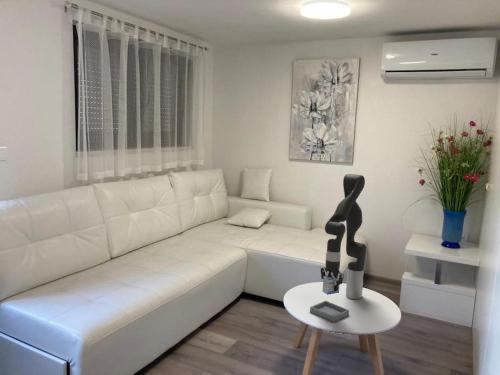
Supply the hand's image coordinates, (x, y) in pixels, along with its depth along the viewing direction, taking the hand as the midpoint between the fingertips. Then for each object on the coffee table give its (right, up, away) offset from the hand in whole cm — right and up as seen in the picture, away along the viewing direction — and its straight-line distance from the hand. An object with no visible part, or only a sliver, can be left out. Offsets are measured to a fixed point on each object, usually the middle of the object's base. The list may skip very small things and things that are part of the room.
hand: (330, 289), depth 215 cm
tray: (-1, -14, +2) cm, 14 cm away
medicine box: (0, -2, 0) cm, 2 cm away
